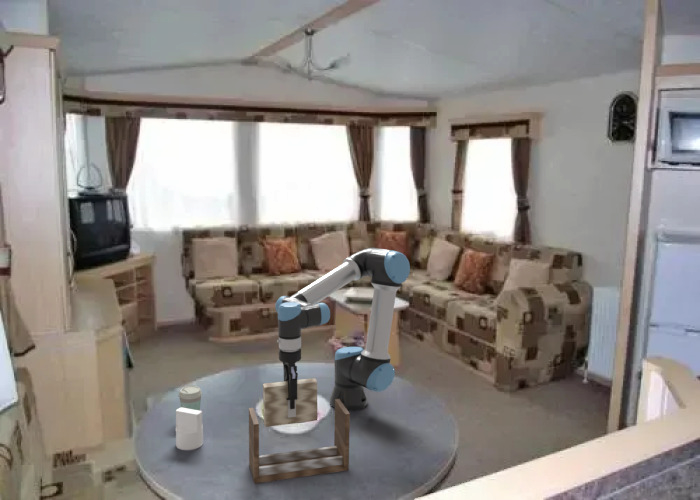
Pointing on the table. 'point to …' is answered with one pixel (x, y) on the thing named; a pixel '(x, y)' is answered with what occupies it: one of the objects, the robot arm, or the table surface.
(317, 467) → the wooden rack
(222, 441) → the table surface
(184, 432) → the white block
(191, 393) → the coffee cup
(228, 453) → the table surface
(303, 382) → the door panel
